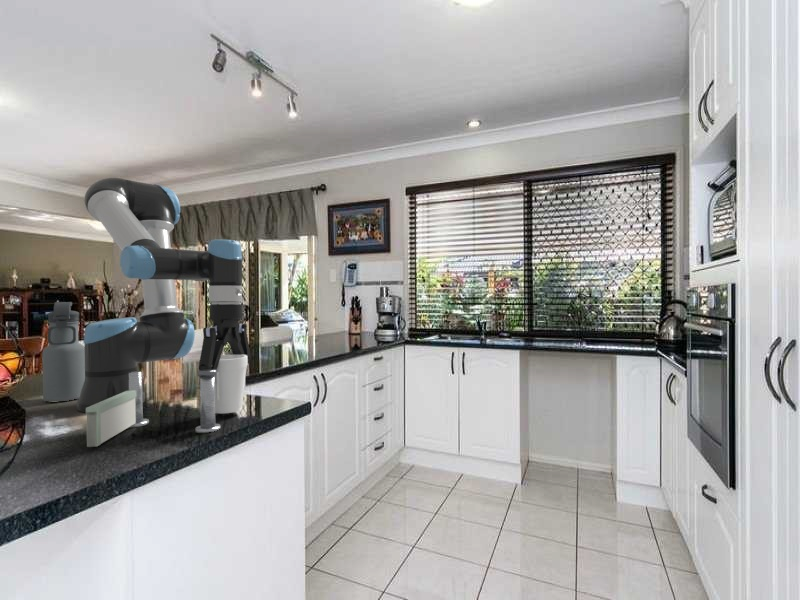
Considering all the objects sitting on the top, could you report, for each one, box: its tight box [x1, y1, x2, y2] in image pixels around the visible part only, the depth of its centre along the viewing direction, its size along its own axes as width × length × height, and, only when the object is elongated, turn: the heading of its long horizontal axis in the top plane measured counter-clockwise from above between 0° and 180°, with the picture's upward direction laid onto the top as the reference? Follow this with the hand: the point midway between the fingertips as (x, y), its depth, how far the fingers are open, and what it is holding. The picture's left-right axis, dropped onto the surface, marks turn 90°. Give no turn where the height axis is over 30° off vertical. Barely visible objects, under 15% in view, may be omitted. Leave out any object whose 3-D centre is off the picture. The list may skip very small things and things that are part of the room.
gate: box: [85, 390, 136, 448], centre depth 87 cm, size 15×2×7 cm, turn 7°
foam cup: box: [215, 353, 249, 414], centre depth 103 cm, size 10×9×13 cm
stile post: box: [194, 369, 222, 434], centre depth 92 cm, size 5×5×13 cm
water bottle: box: [41, 301, 85, 402], centre depth 121 cm, size 10×10×28 cm
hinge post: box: [127, 370, 150, 429], centre depth 96 cm, size 5×5×12 cm
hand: (227, 394), depth 103 cm, fingers open, 10 cm apart
